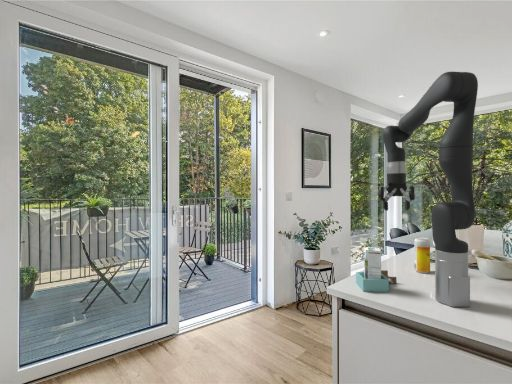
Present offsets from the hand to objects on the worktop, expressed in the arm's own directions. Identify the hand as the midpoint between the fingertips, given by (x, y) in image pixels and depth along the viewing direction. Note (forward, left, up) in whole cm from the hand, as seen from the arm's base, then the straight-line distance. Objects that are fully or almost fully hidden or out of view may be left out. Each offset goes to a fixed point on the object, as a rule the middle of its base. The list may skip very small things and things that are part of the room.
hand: (396, 210), depth 124 cm
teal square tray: (-15, +15, -28) cm, 35 cm away
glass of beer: (+5, -13, -28) cm, 32 cm away
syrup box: (-15, +15, -28) cm, 35 cm away
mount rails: (-7, +8, -28) cm, 30 cm away
